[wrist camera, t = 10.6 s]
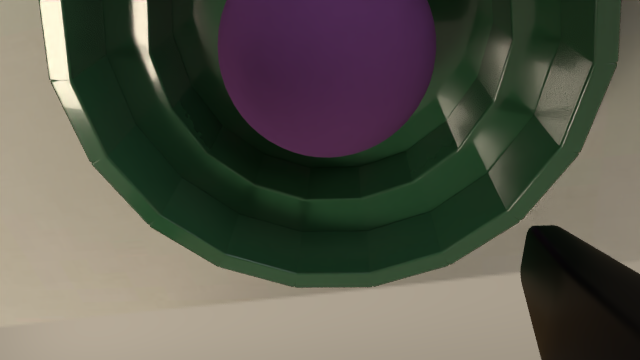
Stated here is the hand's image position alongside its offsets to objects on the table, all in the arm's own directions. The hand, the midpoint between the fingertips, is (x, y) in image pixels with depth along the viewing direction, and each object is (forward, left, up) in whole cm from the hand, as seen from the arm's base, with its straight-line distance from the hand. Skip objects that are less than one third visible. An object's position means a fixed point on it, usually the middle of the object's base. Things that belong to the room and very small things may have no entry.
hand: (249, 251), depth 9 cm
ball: (+1, -1, -8) cm, 8 cm away
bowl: (+1, -1, -12) cm, 12 cm away
